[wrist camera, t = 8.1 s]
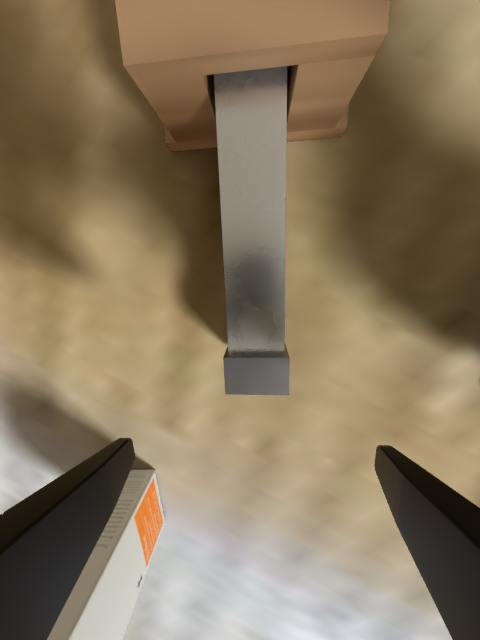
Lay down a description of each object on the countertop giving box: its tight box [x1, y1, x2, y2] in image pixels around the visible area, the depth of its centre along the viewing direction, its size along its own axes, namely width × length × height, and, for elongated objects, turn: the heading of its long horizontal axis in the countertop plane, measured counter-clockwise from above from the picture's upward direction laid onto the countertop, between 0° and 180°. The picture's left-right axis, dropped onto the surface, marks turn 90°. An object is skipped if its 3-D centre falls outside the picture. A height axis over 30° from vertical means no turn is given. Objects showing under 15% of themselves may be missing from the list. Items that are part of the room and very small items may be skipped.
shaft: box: [214, 66, 289, 395], centre depth 11 cm, size 18×3×4 cm, turn 2°
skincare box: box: [47, 469, 166, 640], centre depth 15 cm, size 6×4×12 cm
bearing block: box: [115, 0, 391, 151], centre depth 10 cm, size 7×10×6 cm
